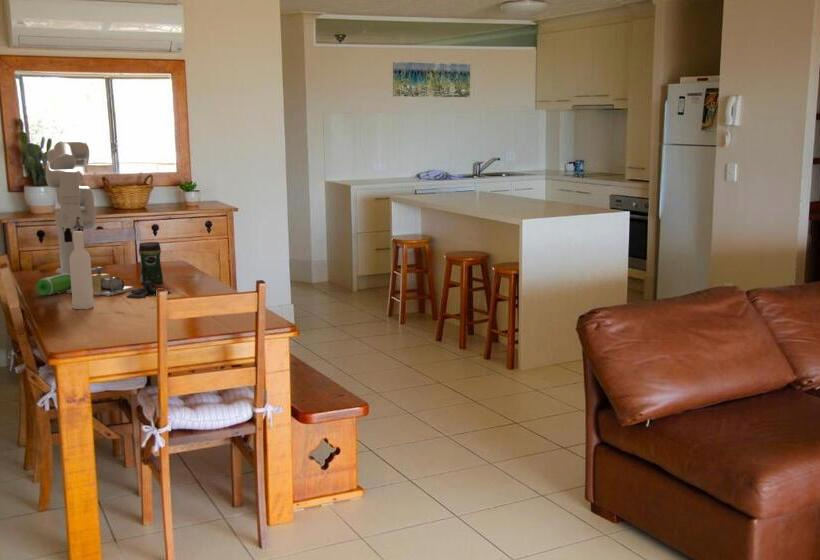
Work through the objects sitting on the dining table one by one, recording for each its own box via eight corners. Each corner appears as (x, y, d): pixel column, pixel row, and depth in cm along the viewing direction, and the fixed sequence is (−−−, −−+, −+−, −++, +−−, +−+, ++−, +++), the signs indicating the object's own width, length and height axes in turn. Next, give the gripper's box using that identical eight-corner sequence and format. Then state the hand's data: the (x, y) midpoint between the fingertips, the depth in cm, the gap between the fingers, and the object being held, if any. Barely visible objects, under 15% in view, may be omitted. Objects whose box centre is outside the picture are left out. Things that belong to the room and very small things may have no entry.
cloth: (126, 301, 359) (125, 286, 358) (123, 293, 376) (122, 279, 375) (182, 296, 367) (181, 282, 366) (176, 289, 384) (176, 275, 383)
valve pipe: (66, 293, 374) (65, 276, 373) (91, 286, 389) (90, 270, 388) (110, 296, 366) (109, 279, 365) (134, 289, 381) (133, 273, 380)
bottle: (68, 308, 342) (62, 232, 337) (85, 305, 349) (80, 229, 344) (81, 310, 338) (75, 233, 333) (98, 307, 344) (93, 231, 339)
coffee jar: (162, 280, 402) (160, 240, 399) (163, 283, 395) (161, 242, 392) (140, 282, 399) (138, 241, 396) (140, 285, 392) (138, 243, 389)
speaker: (63, 288, 385) (62, 271, 384) (77, 289, 383) (76, 272, 382) (35, 296, 369) (34, 278, 368) (50, 297, 367) (48, 279, 366)
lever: (98, 273, 379) (97, 266, 378) (105, 273, 378) (104, 266, 377) (75, 278, 365) (74, 271, 365) (82, 279, 364) (81, 272, 364)
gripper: (51, 200, 368) (54, 242, 371) (73, 202, 357) (76, 245, 360) (68, 199, 374) (71, 240, 377) (90, 201, 363) (93, 243, 366)
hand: (73, 242), depth 369 cm, fingers open, 7 cm apart
